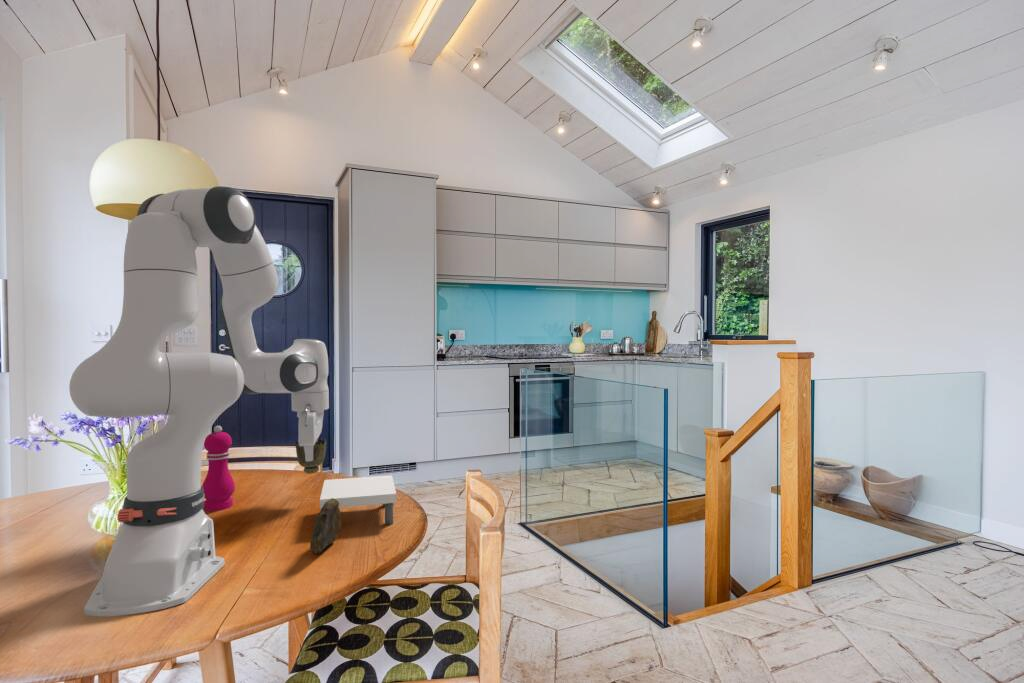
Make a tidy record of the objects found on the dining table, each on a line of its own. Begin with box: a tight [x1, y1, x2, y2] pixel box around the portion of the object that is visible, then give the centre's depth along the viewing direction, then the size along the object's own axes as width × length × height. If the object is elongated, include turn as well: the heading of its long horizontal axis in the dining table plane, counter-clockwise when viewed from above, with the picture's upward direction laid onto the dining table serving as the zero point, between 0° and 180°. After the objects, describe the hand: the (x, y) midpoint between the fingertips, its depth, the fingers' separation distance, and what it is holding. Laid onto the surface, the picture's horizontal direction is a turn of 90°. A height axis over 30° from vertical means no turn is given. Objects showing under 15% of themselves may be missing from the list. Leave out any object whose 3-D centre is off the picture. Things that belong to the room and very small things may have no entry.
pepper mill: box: [201, 425, 236, 512], centre depth 131 cm, size 7×7×20 cm
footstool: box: [319, 474, 397, 526], centre depth 125 cm, size 16×16×7 cm
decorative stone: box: [309, 498, 342, 555], centre depth 105 cm, size 10×9×4 cm
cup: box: [294, 438, 328, 475], centre depth 135 cm, size 8×7×8 cm
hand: (311, 457), depth 135 cm, fingers closed on cup, 6 cm apart
